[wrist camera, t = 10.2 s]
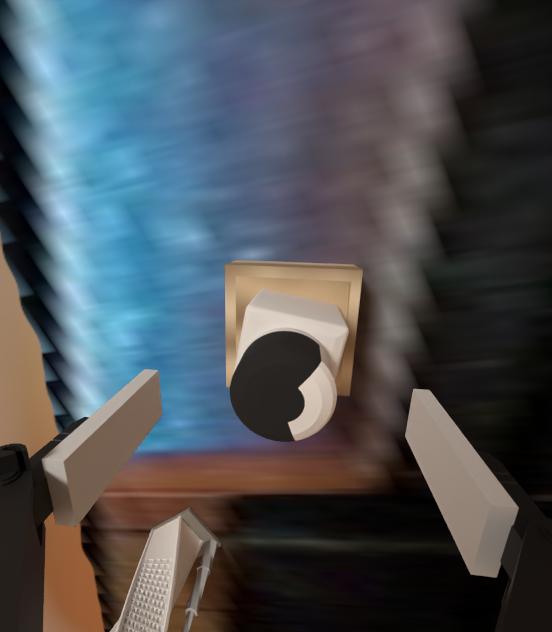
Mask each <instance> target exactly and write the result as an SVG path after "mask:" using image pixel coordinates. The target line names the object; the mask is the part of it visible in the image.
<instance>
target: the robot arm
mask: <svg viewBox="0 0 552 632" xmlns="http://www.w3.org/2000/svg"><path fill="white" fill-rule="evenodd" d="M161 416H162V406H161V394H160V382H159V370H148V369H144V370H143V371H142V372H141V373H140V374H139V375H138V376H136V377H135V378H134V379H133V380H132V381H131V382H129V383H128V384H127V385H126V386H125V387H124V388H123V389H121V390H120V391H119V392H118V393H117V394H116V395H115V396H113V397H112V398H111V399H110V400H109V401H108V402H107V403H105V404H104V405H103V406H102V407H101V408H100V409H98V410H97V411H96V412H95V413H94V414H93V415H92V416H90V417H83V418H82V419H80V420H78V421H76V422H74V423H72V424H70V425H69V426H68V427H67V428H66V429H64V430H63V431H62V432H61V434H58V435H57V436H56V437H55V438H54V439H53V441H50V442H49V443H48V444H47V445H46V446H44V447H43V448H42V449H40V450H39V451H38V452H37V453H36V454H34V455H33V456H32V457H31V458H30V459H29V457H28V452H27V448H26V446H25V445H23V444H9V445H4V446H1V447H0V632H43V604H44V567H45V565H44V564H45V530H46V529H45V524H44V521H45V519H46V518H47V517H48V516H49V515H50V514H51V513H52V512H53V514H54V518H55V523H56V524H57V525H65V526H73V527H77V525H78V524H79V523H80V521H81V520H82V519H83V518H84V516H85V515H86V514H87V512H88V511H89V510H90V508H91V507H92V506H93V505H94V503H95V502H96V501H97V499H98V498H99V497H100V496H101V494H102V493H103V492H104V490H105V489H106V488H107V486H108V485H109V484H110V483H111V481H112V480H113V479H114V477H115V476H116V475H117V473H118V472H119V471H120V470H121V468H122V467H123V466H124V464H125V463H126V462H127V460H128V459H129V458H130V457H131V455H132V454H133V453H134V451H135V450H136V449H137V448H138V446H139V445H140V444H141V442H142V441H143V440H144V438H145V437H146V436H147V435H148V433H149V432H150V431H151V429H152V428H153V427H154V425H155V424H156V423H157V422H158V420H159V419H160V418H161ZM405 437H406V439H407V441H408V443H409V445H410V447H411V450H412V452H413V454H414V456H415V458H416V460H417V462H418V464H419V466H420V469H421V471H422V473H423V475H424V477H425V479H426V481H427V483H428V485H429V488H430V490H431V492H432V494H433V496H434V498H435V500H436V502H437V504H438V506H439V509H440V511H441V513H442V515H443V517H444V519H445V521H446V523H447V525H448V528H449V530H450V532H451V534H452V536H453V538H454V540H455V542H456V544H457V547H458V549H459V551H460V553H461V555H462V557H463V559H464V561H465V563H466V566H467V568H468V570H469V572H470V574H471V575H480V576H488V577H496V578H497V575H498V571H499V568H500V565H501V563H502V565H503V567H504V569H505V570H506V572H507V574H508V575H509V577H510V578H509V581H508V584H507V587H506V590H505V593H504V596H503V599H502V601H501V603H502V606H501V610H500V614H499V617H498V621H497V625H496V629H495V632H552V519H549V518H546V516H545V515H544V514H543V513H542V511H541V510H540V509H539V508H538V507H537V505H536V504H535V503H534V502H533V501H532V499H531V498H530V497H529V496H528V495H527V493H526V492H525V491H524V490H523V489H522V487H521V486H520V485H518V484H517V481H516V480H515V479H514V478H513V477H512V475H510V473H509V472H508V470H507V469H506V468H505V467H504V466H503V464H502V463H501V462H500V461H499V460H497V459H496V458H495V457H493V456H492V455H491V454H489V453H488V452H484V451H475V449H474V448H473V447H472V446H471V444H470V443H469V442H468V440H467V439H466V438H465V436H464V435H463V434H462V432H461V431H460V430H459V428H458V427H457V426H456V424H455V423H454V422H453V420H452V419H451V418H450V417H449V415H448V414H447V413H446V411H445V410H444V409H443V407H442V406H441V405H440V403H439V402H438V401H437V399H436V398H435V397H434V395H433V394H432V393H431V392H430V390H421V389H413V394H412V400H411V406H410V411H409V417H408V423H407V429H406V434H405Z"/></svg>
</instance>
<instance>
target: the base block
mask: <svg viewBox="0 0 552 632" xmlns="http://www.w3.org/2000/svg"><path fill="white" fill-rule="evenodd" d="M362 274H363V270H362V269H360V268H358V267H357V266H355V265H348V264H323V263H298V262H274V261H249V260H236V261H233V262H230V263H228V264H225V306H226V387H230V384H231V379H232V376H233V374H234V369H235V363H236V358H237V353H238V347H239V342H240V337H241V331H242V326H243V321H244V315H245V310H246V307H247V306H248V304H249V303H250V302H251V301H252V299H253V298H254V297H255V296H256V294H257V293H258V292H259V291H260V290H261V289H268V290H272V291H277V292H281V293H286V294H290V295H295V296H299V297H304V298H308V299H313V300H317V301H322V302H326V303H330V304H335V305H337V306H338V307H339V309H340V311H341V313H342V316H343V318H344V320H345V322H346V324H347V326H348V328H349V334H348V338H347V341H346V344H345V348H344V351H343V355H342V358H341V362H340V365H339V369H338V372H337V375H336V379H335V384H336V390H337V395H341V396H350V387H351V378H352V369H353V359H354V350H355V340H356V331H357V321H358V312H359V302H360V293H361V284H362Z"/></svg>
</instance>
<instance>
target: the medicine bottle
mask: <svg viewBox="0 0 552 632" xmlns="http://www.w3.org/2000/svg"><path fill="white" fill-rule="evenodd" d="M348 334H349V328H348V326H347V324H346V322H345V320H344V318H343V316H342V313H341V311H340V309H339V307H338V306H337V305H335V304H330V303H326V302H322V301H317V300H313V299H308V298H304V297H299V296H295V295H290V294H286V293H281V292H277V291H272V290H268V289H261V290H260V291H259V292H258V293H257V294H256V296H255V297H254V298H253V299H252V301H251V302H250V303H249V304H248V306H247V307H246V310H245V315H244V321H243V326H242V331H241V337H240V342H239V347H238V353H237V358H236V363H235V369H234V374H233V376H232V379H231V384H230V398H231V403H232V406H233V409H234V411H235V413H236V415H237V416H238V418H239V419H240V420H241V422H242V423H243V424H244V425H245V426H246V427H247V428H249V429H250V430H251V431H253V432H254V433H256V434H258V435H260V436H262V437H264V438H267V439H270V440H274V441H282V442H290V441H297V440H301V439H304V438H307V437H309V436H311V435H313V434H315V433H317V432H318V431H319V430H321V429H322V428H323V427H324V426H325V425H326V424H327V422H328V421H329V420H330V418H331V416H332V414H333V412H334V409H335V406H336V401H337V390H336V384H335V379H336V375H337V372H338V369H339V365H340V362H341V358H342V355H343V351H344V348H345V344H346V341H347V338H348Z"/></svg>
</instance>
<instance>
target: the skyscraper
mask: <svg viewBox="0 0 552 632" xmlns="http://www.w3.org/2000/svg"><path fill="white" fill-rule="evenodd" d="M221 544H222V543H221V542H220V540H219V539H218V538H217V537H216V536H215V535H214V534H213V533H212V532H211V530H210V529H209V528H208V527H207V526H206V525H205V524H204V523H203V522H202V520H201V519H200V518H199V517H198V516H197V515H196V514H195V513H194V512H193V510H192V509H191V508H188V509H187V510H185V511H183V512H181V513H179V514H177V515H176V516H174V517H172V518H170V519H168V520H167V521H165V522H163V523H161V524H159V525H157V526H156V527H154V528H152V530H151V533H150V535H149V538H148V541H147V543H146V546H145V548H144V551H143V554H142V556H141V559H140V562H139V564H138V567H137V570H136V573H135V576H134V578H133V581H132V584H131V587H130V590H129V593H128V596H127V599H126V602H125V605H124V608H123V611H122V614H121V617H120V619H119V620H118V622H117V623H116V624H115V626H114V627H113V628H112V630H111V631H110V632H167V628H168V623H169V617H170V613H171V610H172V608H173V606H174V604H175V602H176V600H177V598H178V596H179V594H180V592H181V589H182V587H183V585H184V583H185V581H186V579H187V577H188V575H189V572H190V570H191V568H192V566H193V564H194V562H195V559H196V558H198V557H200V556H202V555H203V556H202V558H201V560H200V563H199V565H198V567H197V576H196V581H195V585H194V588H193V590H192V593H191V595H190V598H189V600H188V603H187V606H186V608H185V613H186V615H187V617H186V621H185V625H184V627H183V630H182V632H189V630H190V626H191V623H192V620H193V617H195V616H198V612H199V607H200V603H201V599H202V594H203V590H204V586H205V584H206V581H207V579H208V576H209V575H210V574H211V569H212V564H213V559H214V555H215V553H216V550H217V548H218V547H220V546H221Z"/></svg>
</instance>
